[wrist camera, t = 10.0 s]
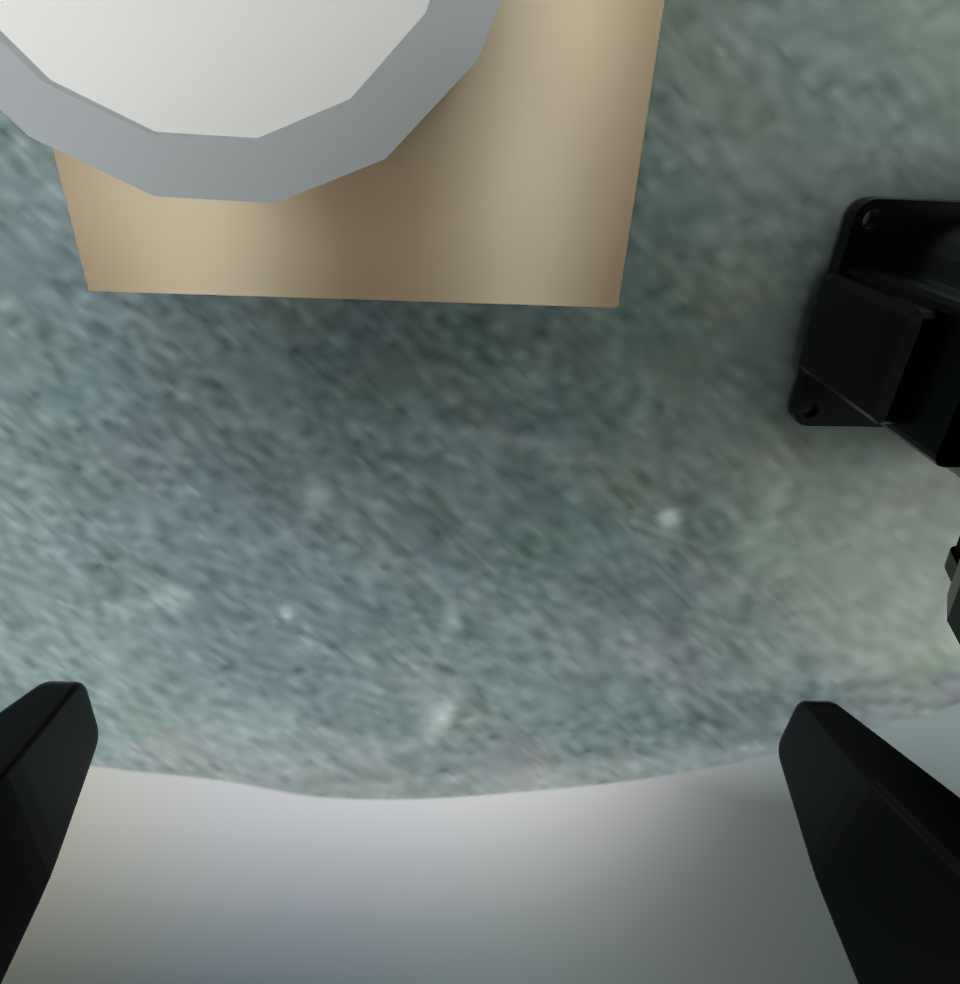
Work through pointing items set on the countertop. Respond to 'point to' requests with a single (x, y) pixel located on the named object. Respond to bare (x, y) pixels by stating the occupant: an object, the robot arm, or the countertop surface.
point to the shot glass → (232, 85)
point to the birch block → (427, 187)
